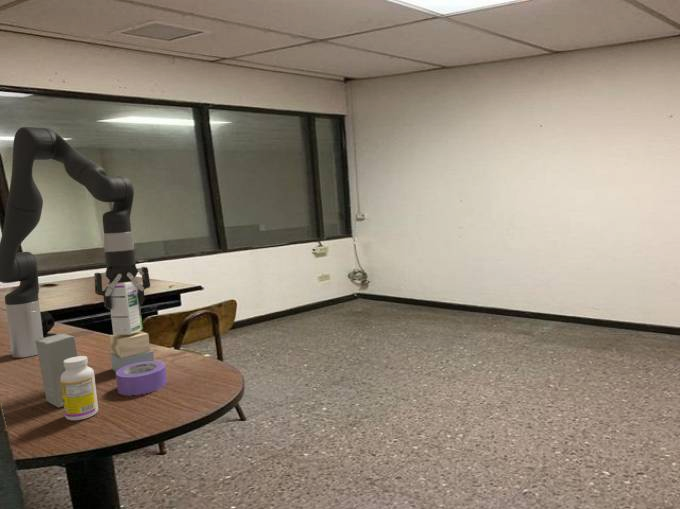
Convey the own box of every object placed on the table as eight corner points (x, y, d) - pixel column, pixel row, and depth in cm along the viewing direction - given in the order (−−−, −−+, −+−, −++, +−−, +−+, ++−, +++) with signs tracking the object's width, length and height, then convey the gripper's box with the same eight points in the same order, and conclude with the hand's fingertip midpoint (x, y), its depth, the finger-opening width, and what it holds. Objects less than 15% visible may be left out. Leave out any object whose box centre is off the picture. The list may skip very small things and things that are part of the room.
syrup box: (131, 335, 142) (126, 283, 140) (112, 334, 143) (106, 283, 141) (143, 329, 147) (138, 279, 146) (124, 329, 148) (119, 279, 147)
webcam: (45, 342, 182) (42, 314, 181) (28, 342, 184) (25, 314, 183) (62, 336, 190) (59, 309, 189) (45, 336, 192) (42, 310, 190)
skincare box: (86, 400, 123) (79, 335, 121) (53, 410, 118) (45, 342, 116) (73, 392, 129) (66, 330, 127) (41, 401, 124) (34, 337, 122)
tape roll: (147, 397, 123) (145, 377, 122) (107, 394, 126) (104, 375, 126) (176, 380, 134) (174, 361, 134) (139, 378, 138) (137, 360, 137)
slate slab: (112, 369, 147) (110, 352, 146) (143, 362, 152) (142, 345, 152) (121, 376, 140) (119, 359, 139) (154, 368, 145) (152, 351, 145)
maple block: (111, 352, 146) (109, 335, 145) (139, 346, 151) (137, 329, 151) (121, 358, 140) (119, 340, 139) (150, 351, 145) (148, 333, 145)
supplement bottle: (73, 410, 117) (66, 355, 116) (103, 407, 118) (97, 353, 116) (59, 423, 110) (52, 365, 109) (91, 420, 111) (84, 362, 110)
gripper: (140, 245, 150) (146, 300, 152) (88, 251, 141) (94, 309, 143) (149, 246, 144) (155, 303, 146) (95, 252, 135) (101, 313, 137)
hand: (125, 306), depth 144 cm, fingers closed on syrup box, 8 cm apart
